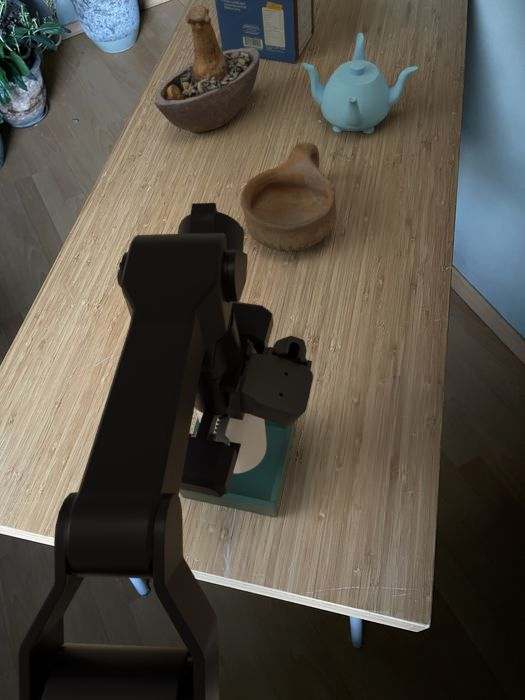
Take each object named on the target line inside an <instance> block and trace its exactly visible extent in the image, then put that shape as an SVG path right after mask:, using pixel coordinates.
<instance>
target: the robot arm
mask: <svg viewBox="0 0 525 700" xmlns="http://www.w3.org/2000/svg"><path fill="white" fill-rule="evenodd" d="M244 243H245V229H244V227H243V226H241V224H240V223H239V222H238V221H237V220H236V219H235V218H234V217H232V216H230V215H229V214H227V213H223V212H221V211H218V208H217V203H216V202H197V203H196V202H193V203H191V209H190V214H187V215H186V216H185V217H184V218H183V219H182V220H181V221H180V223H179V224H178V229H177V233H157V234H156V233H155V234H154V233H153V234H137V235H135V236H134V237H133V238H132V240H131V242H130V244H129V245H128V249H127V251H125V252H124V254H123V255H122V257H121V261H119V264H118V270H117V271H116V272H117V273H116V281H117V284H118V286H119V287H120V289H121V292H122V293H121V294H122V295H123V299H124V300H125V303H126V307H127V310H128V313H129V316H130V322H129V325H128V329H127V332H126V334H125V335H126V336H125V338H124V342H123V346H122V349H121V352H120V354H119V358H118V361H117V364H116V368H115V372H114V374H113V377H112V378H113V379H112V380H111V384H110V387H109V391H108V394H107V396H106V400H105V403H104V406H103V410H102V413H101V416H100V420H99V423H98V426H97V429H96V431H95V436H94V439H93V443H92V446H91V449H90V452H89V455H88V458H87V461H86V465H85V469H84V470H83V475H82V477H81V481H80V484H79V486H78V487H79V488H78V490H77V491H74V492H69V493H68V494H67V496H66V497H65V498H64V499H63V501H62V502H61V503H62V504H61V506H60V508H59V511H58V512H57V513H58V514H57V518H56V523H55V526H54V538H53V539H54V540H53V556H54V557H53V559H54V560H53V561H54V562H53V564H54V582H53V585H52V587H51V589H50V591H49V592H48V595H47V596H46V598H45V599H44V601H43V603H42V605H41V607H40V608H39V610H38V612H37V615H36V616H35V618H34V619H33V621H32V623H31V625H30V627H29V629H28V630H27V632H26V634H25V636H24V637H23V640H22V641H21V643H20V645H19V650H18V654H17V655H18V658H17V659H18V700H220V651H219V650H220V649H219V648H220V647H219V646H220V645H219V642H220V641H219V638H220V637H219V636H220V635H219V619H218V616H217V613H216V611H215V609H214V608H213V605H212V604H211V602H210V600H209V599H208V597H207V595H206V593H205V592H204V590H203V588H202V587H201V585H200V583H199V581H198V580H197V578H196V576H195V574H194V573H193V571H192V569H191V568H190V566H189V564H188V562H187V561H186V558H185V556H184V529H183V528H184V526H183V525H184V524H183V522H184V520H183V508H182V507H183V506H182V501H181V498H180V492H179V491H180V489H181V490H186V491H190V492H195V493H200V494H204V495H209V496H214V497H218V498H220V497H222V496H224V495H225V494H227V493H228V490H229V487H230V483H231V479H232V476H233V472H234V468H235V465H236V461H237V457H238V454H239V450H240V446H241V444H240V443H235V442H230V440H229V438H228V437H227V436H225V435H226V431H227V428H228V424H229V421H230V418H233V419H238V420H243V418H244V415H245V413H246V414H251V415H253V416H256V417H259V418H262V419H265V420H268V421H271V422H274V423H277V424H278V425H280V426H283V427H290V426H292V425H293V424H294V423H295V422H296V423H297V421H298V420H299V419H300V418H301V417H302V416H303V414H304V413H306V410H307V407H308V403H309V399H310V394H311V390H312V385H313V381H314V373H313V372H312V367H313V366H312V365H313V360H311V359H307V352H308V350H307V345H306V342H305V339H302V338H300V337H297V336H295V335H288V336H286V337H284V338H280V339H278V340H276V341H275V343H274V344H273V346H269V344H270V343H269V342H270V339H271V335H272V331H273V329H274V315H273V313H272V312H271V311H270V309H268V308H266V307H265V306H264V305H261V304H255V303H248V302H242V301H240V300H241V298H242V295H243V292H244V288H245V286H246V282H247V275H248V263H249V261H248V253H246V252H244ZM195 410H198V411H199V412H201V413H203V415H202V418H201V421H200V424H199V428H198V431H197V432H196V435H194V434H193V433H191V427H192V422H193V418H194V417H193V416H194V411H195ZM218 415H220V416H221V417H218ZM217 419H219V420H220V421H217ZM216 422H217V424H219V425H216ZM215 425H216V428H218V429H215ZM214 429H215V432H217V433H213V432H214ZM85 578H111V579H112V578H113V579H114V578H115V579H143V580H145V579H146V580H147V579H148V580H149V579H150V580H151V579H152V585H153V590H154V593H155V595H156V596H157V599H158V600H159V602H160V603H161V606H162V608H163V609H164V611H165V613H166V614H167V616H168V618H169V619H170V622H171V624H173V626H174V629H175V630H176V631H177V634H178V635H179V637H180V638H181V641H182V642H183V644H184V646H185V647H178V646H177V647H175V646H174V647H173V646H151V645H149V646H148V645H128V644H127V645H124V644H105V643H104V644H100V643H78V642H77V643H76V642H75V643H74V642H65V624H64V621H65V620H64V618H65V617H64V616H65V613H66V612H67V610H68V608H69V606H70V605H71V603H72V601H73V599H74V597H75V596H76V594H77V592H78V591H79V588H80V587H81V585H82V583H83V581H84V579H85Z"/></svg>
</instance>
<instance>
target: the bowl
mask: <svg viewBox="0 0 525 700" xmlns="http://www.w3.org/2000/svg"><path fill="white" fill-rule="evenodd" d="M239 200H240V206H241V209H242V211H243V219H244V222H245V223H244V224H245V227H246V230H247V232H248V233H249V235H250V236H251V238H252V239H254V240H255V241H256V242H257V243H259V244H261V245H263V246H264V247H266V248H268V249H272V250H275V251H279V252H282V253H283V252H296V251H297V252H298V251H299V250H305V249H306V248H310V247H311V246H313V245H316V243H318V242H321V241H322V240H323V238H325V237H327V236H328V234H329V233H330V232H331V231H332V229H333V226H334V224H335V223H336V222H335V221H336V218H337V212H338V210H337V203H336V190H335V188H334V186H333V184H332V183H331V182H330V181H329V179H328V178H327V176H325V174H324V173H323V172H322V171H321V170H320V152H319V148H318V147H317V145H316V144H314V143H312V142H307V141H301V142H297V143H296V144H295V145H294V146H293V149H292V150H291V151H290V153H289V155H288V157H287V159H286V160H285V161H284V162H283V163H281V164H279V165H277V166H276V167H274V168H269V169H267V170H265V171H262V172H260V173H258V174H256V175H255V176H253V177H252V178H250V179H249V180H248V181H247V182H246V184H245V185H244V187H243V189H242V191H241V194H240V199H239Z"/></svg>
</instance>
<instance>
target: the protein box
mask: <svg viewBox="0 0 525 700" xmlns="http://www.w3.org/2000/svg"><path fill="white" fill-rule="evenodd" d="M214 4H215V11H216V18H217V19H216V20H217V25H218V31H219V39H220V45H221V46H220V48H221V50H222V52H224V51H227V50H232V49H233V50H236V49H240V48H252V49H256V50H257V51H258V52H259V54H260V59H263V60H264V59H265V60H272V61H275V62H276V61H277V62H283V63H288V64H297V62H298V60H299V59H300V57H301V55H302V54H303V52H304V50H305V48H306V47H307V45H308V43H309V42H310V40H311V38H312V36H313V35H314V33H315V18H314V17H315V15H314V14H315V13H314V11H315V10H314V8H315V7H314V0H214Z"/></svg>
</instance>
